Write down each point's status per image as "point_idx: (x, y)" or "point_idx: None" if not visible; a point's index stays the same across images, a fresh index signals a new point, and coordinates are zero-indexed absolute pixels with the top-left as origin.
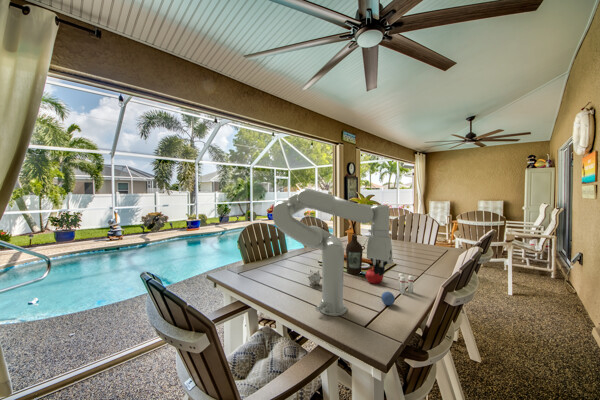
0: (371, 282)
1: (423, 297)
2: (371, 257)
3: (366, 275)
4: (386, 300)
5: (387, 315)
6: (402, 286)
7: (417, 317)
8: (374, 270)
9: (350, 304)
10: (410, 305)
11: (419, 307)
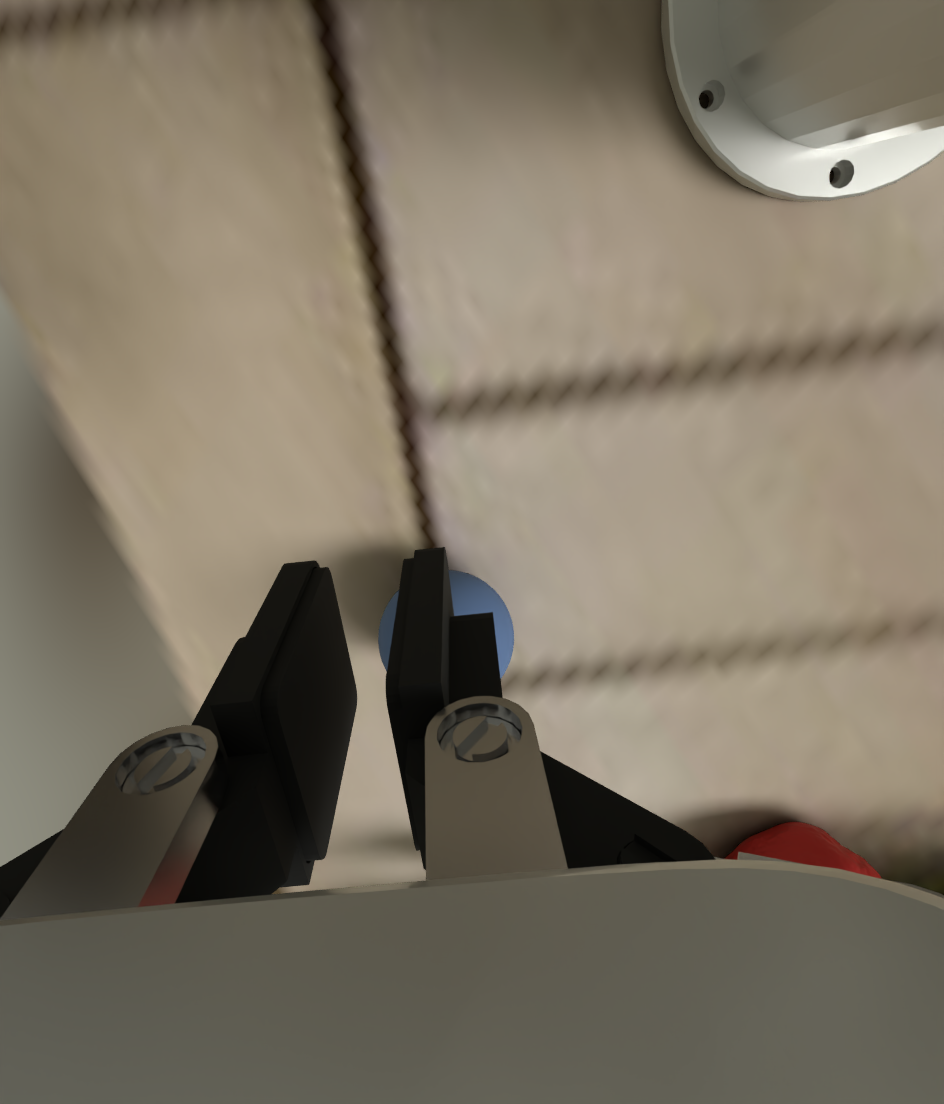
0: (778, 829)
1: None
2: (575, 897)
3: (866, 873)
4: None
5: (324, 421)
6: None
7: (153, 598)
8: (480, 623)
9: (724, 303)
10: None
11: None
